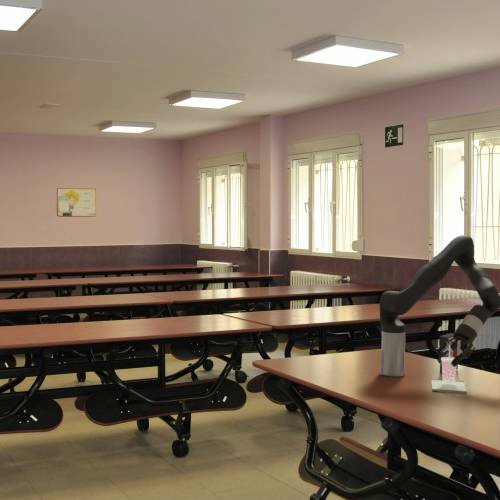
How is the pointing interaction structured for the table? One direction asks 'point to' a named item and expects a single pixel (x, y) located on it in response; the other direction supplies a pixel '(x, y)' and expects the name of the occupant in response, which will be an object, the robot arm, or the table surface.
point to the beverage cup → (448, 370)
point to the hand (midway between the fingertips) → (445, 363)
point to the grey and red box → (453, 354)
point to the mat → (448, 386)
